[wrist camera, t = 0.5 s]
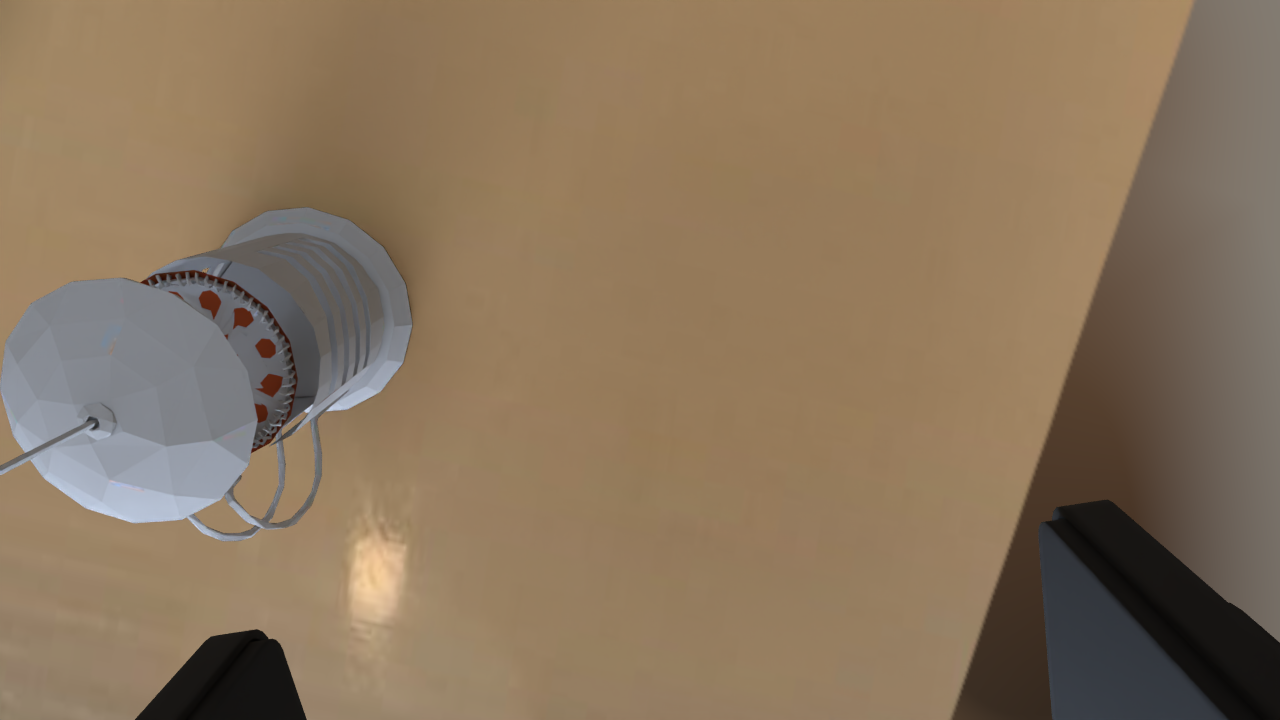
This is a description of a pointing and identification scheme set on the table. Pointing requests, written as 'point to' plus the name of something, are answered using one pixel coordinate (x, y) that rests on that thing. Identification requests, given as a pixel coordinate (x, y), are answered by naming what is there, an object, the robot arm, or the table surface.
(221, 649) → the robot arm
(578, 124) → the table surface
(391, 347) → the french press
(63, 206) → the table surface
